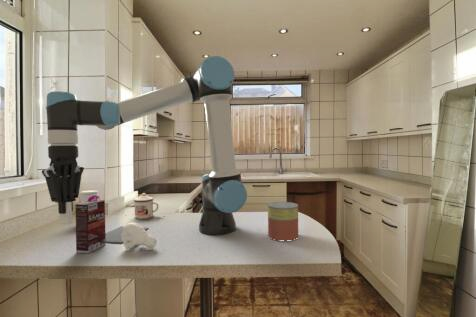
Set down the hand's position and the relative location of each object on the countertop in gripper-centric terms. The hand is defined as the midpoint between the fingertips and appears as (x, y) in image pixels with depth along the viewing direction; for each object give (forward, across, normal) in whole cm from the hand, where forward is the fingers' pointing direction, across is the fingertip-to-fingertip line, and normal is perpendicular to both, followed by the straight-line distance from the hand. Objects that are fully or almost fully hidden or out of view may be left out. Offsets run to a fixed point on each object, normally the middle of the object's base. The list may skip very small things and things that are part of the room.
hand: (66, 223), depth 81 cm
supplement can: (+12, -37, -24) cm, 46 cm away
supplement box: (+12, -10, 0) cm, 15 cm away
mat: (+11, -25, 0) cm, 27 cm away
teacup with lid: (+12, -53, -5) cm, 54 cm away
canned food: (+12, -33, +63) cm, 72 cm away
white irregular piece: (+12, -13, +16) cm, 24 cm away
